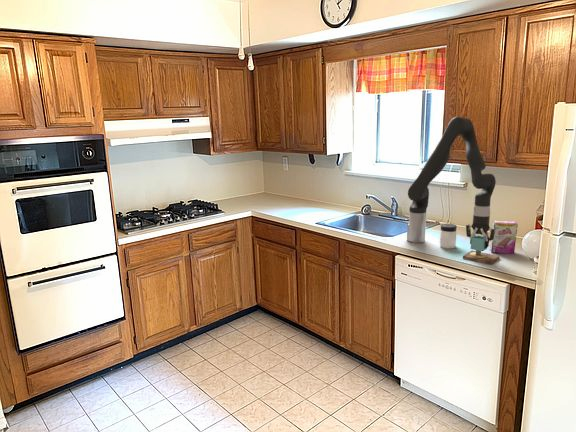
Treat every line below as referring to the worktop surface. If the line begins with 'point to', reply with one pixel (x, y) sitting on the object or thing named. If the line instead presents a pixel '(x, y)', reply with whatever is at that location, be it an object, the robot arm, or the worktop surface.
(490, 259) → the post stand
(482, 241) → the collar
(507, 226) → the candy bar box
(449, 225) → the jar
